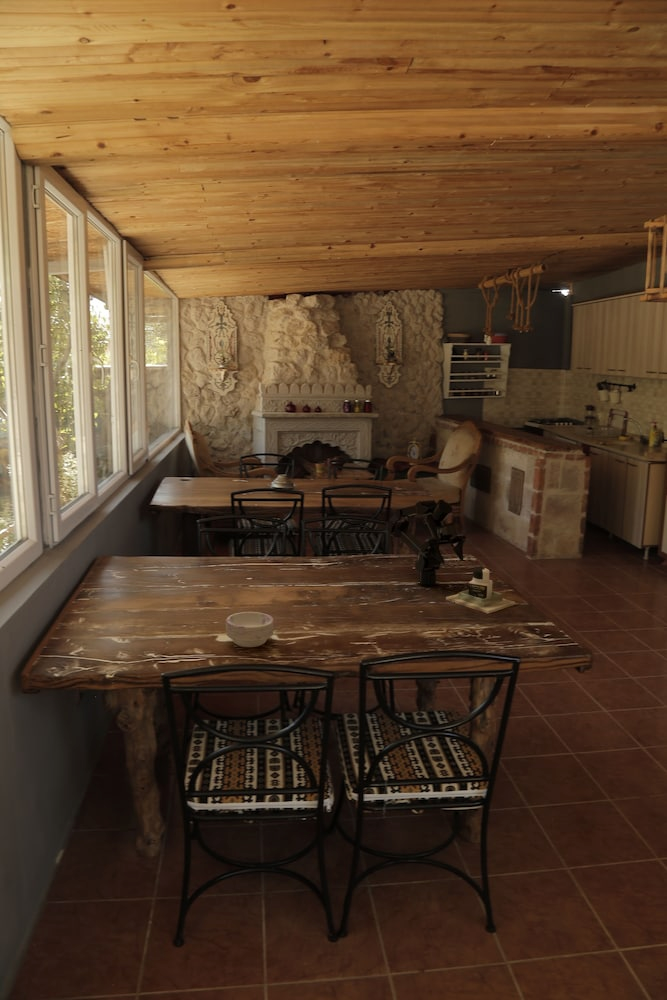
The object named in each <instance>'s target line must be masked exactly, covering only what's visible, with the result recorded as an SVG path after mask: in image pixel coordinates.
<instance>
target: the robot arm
mask: <svg viewBox="0 0 667 1000" xmlns="http://www.w3.org/2000/svg"><path fill="white" fill-rule="evenodd" d="M452 511H453V507H452V505H451V504H449V502H447V501H445V500H444V499H438V501H437V502H436V500H435V499H428V500H427V499H426V500H419V501H417V502H416V503H415V504H414V505H409V506H405V507H404V506H403V507H398V508H396V510H395V513H394V514H393V515H392V516H391V517H390V518H389V520H388V523H387V527H386V531H387V532H388V534H389V535H390V536H392V537H393V538H395V539H400V540H401V541H402V542H403V544H405V545H406V546H407V547H408V548H409V549H410V551H412V552H413V553H414V554H415V555H416V556H417V561H416V562H415V564H414V566H415V567H414V569H415V570H416V571H418V582H420V583H418V584H421V585H420V586H422V585H424V586H423V587H425V586H426V587H425V588H429V587H428V586H430V587H433V586H432V585H434V586H437V585H439V583H438V582H437V574H436V571H437V570H438V571H439V570H440V567H441V564H442V565H444V564H445V560H444V557H443V554H442V553H441V551H440V547H441V546H442V547H443V546H449V545H450V547H452V550H453V552H454V553H455V555H456V556H457V557H458V559H459V560H460V561H461V562H462V561H464V553H463V552H464V551H463V550H464V549H463V547H464V544H465V543H466V541H468V538H467V536H466V535H465V534H458V533H459V531H460V530H461V528H460V525H459V524H458V523H457V522H455V523H452V524H451V525H447V524H446V525H444V523H443V522H444V521H445V520H446V519H448V517H449V515H450V514H451V513H452ZM414 515H417V516H418V515H420V516H424V515H426V516H425V517H423V518H424V519H423V521H422V524H423V525H427V527H428V529H429V531H430V533H429V536H430V537H432V538H427V539H426V540H424V542H423V543H422V542H421V541H420V540H419V539H418V538H417V537H416V536H415V535H414V534H413V533H412V532H411V531H410V524H411V520H410V516H414ZM401 518H404V519H402V520H400V519H401ZM455 534H456V535H455ZM453 535H455V536H454V537H453ZM418 584H417V585H418ZM436 584H437V585H436Z"/></svg>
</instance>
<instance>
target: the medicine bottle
mask: <svg viewBox="0 0 667 1000" xmlns="http://www.w3.org/2000/svg"><path fill="white" fill-rule="evenodd" d="M468 590H469V591H468V595H471V596H474V597H477V598H481V599H485V598H488V597H492V591H493V580H491V579H490V570H489V569H488V568H486V567H475V568H473V570H472V580H470V581H469V582H468Z"/></svg>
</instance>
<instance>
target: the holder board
mask: <svg viewBox="0 0 667 1000" xmlns="http://www.w3.org/2000/svg"><path fill="white" fill-rule="evenodd" d="M468 591H469V589H466V590H462V591H459V592H458V593H457V594H453V595H449V596H446V597H445V601H449V602H452V603H454V602H455V603H454V604H457V605H460V606H464V607H467V608H470V609H473V610H476V611H479V612H482V613H485V614H491V613H495V612H497V611H500V610H503V609H506V608H510V607H512V606H515V605H516V601H513V600H509V599H506V598H504V596H503V595H504V594H503V593H502V592H497V591H493V590H492V597H488V598H485V599H481V598H477V597H474V596H471V595H468Z"/></svg>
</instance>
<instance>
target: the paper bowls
mask: <svg viewBox="0 0 667 1000" xmlns="http://www.w3.org/2000/svg"><path fill="white" fill-rule="evenodd" d="M274 621H275V620H274V617H273V616H272V615H270V614H266V613H264V612H260V611H259V612H257V611H241V612H235V613H233V614H231V615H228V616H227V618H226V620H225V635H226V636H227V637H228V638H230V639H231V640H232V642H233V644H236V645H237V646H238V647H243V648H255V647H256V648H257V647H260V646H263V645H264V644H265V643H266V642H267V640H268V639H271V638H272V636H274V631H275V630H274V629H275V626H274V624H275V622H274Z"/></svg>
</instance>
